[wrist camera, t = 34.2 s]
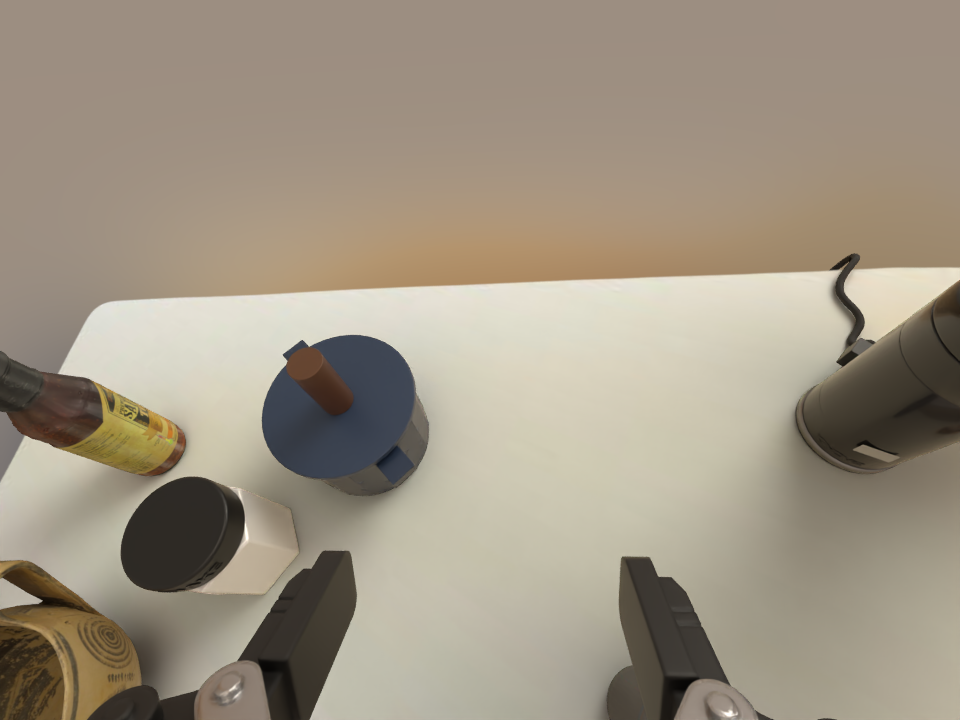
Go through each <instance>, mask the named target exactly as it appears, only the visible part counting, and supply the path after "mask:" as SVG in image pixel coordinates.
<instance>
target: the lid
mask: <svg viewBox="0 0 960 720" xmlns="http://www.w3.org/2000/svg"><path fill="white" fill-rule="evenodd" d="M415 404H416V388H415V382H414V378H413V375H412V372H411V370H410V368H409V366H408V364H407V363H406V361H405V359H404V358H403V357H402V356H401V355H400V353H399V352H398V351H396V350H395V349H394V348H393V347H391V346H390V345H388V344H387V343H385V342H383V341H380V340H378V339H375V338H372V337H368V336H361V335H345V336H338V337H333V338H330V339H326V340H323V341H321V342H318V343H316V344H314V345H312V346H310V347H307V348H302V349H299V350H298V351H296V352H295V353H293V354H292V355H291V357H290V358H289V359H288V362H287V365H286V366H285V367H284V368H283V369H282V370H281V371H280V373H279V374H278V375H277V377H276V378H275V380H274V381H273V383H272V385H271V387H270V389H269V391H268V393H267V396H266V399H265V402H264V407H263V413H262V429H263V434H264V438H265V441H266V443H267V446H268V448H269V449H270V451H271V453H272V454H273V456H274V457H275V458H276V459H277V460H278V461H279V462H280V463H281V464H282V465H283V466H285V467H286V468H288V469H289V470H291V471H293V472H294V473H296V474H299V475H301V476H304V477H307V478H312V479H318V480H334V479H341V478H346V477H349V476H352V475H355V474H358V473H360V472H363V471H365V470H367V469H369V468H370V467H372V466H374V465H375V464H377V463H378V462H380V461H381V460H382V459H383V458H385V457H386V456H387V455H388V454H389V453H390V452H391V451H392V450H393V449H394V448H395V447H396V446H397V444H398V443H399V442H400V440H401V439H402V438H403V436H404V434H405V433H406V431H407V429H408V427H409V425H410V422H411V420H412V417H413V414H414V409H415Z"/></svg>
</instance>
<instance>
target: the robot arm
mask: <svg viewBox="0 0 960 720" xmlns="http://www.w3.org/2000/svg"><path fill="white" fill-rule="evenodd" d="M859 260H860V256H859V255H858V254H851V255H849V256H847V257H845V258H844V259H842V260H841V261H840V262H838V263H837V264H836V265H835V266H833V267H832V268H831V269H830V270H829V271H835V270H839V269H840V268H842V267H843V266H844V265H846V264H847V263H848V262H849V263H848V264H847V266H846V267H845V268H844V269H843V271H842V272H841V274H840V275H839V277H838V279H837V282H836V286H835V288H836V294H837V296H838V298H839V299H840V301H841V302H842V303H843V304H844V305H845V306H846V307H847V308H848V309H849V310H850V311H851V312H852V313H853V315H854V317H855V319H856V325H855V327H854V329H853V331H852V332H851V334H850V335H849V337H848V339H847V342H848V345H849V346H850V347H848V348H847V349H846V350H845V351H844V352H843V354H842V355H841V356H840V358H839V359H838V360H837V361H836V362H837V363H838V364H840V365H842V366H843V367H842V368H841V369H839V370H838V371H837V372H835V373H834V374H832V375H831V376H830V377H828V378H827V379H825V380H824V381H823V382H821V383H820V384H818V385H816V386H814V387H813V388H811V389H810V390H809V391H807V392H806V393H805V394H804V395H803V396H802V398H801V399H800V401H799V403H798V406H797V410H796V418H797V424H798V427H799V430H800V432H801V434H802V436H803V437H804V439H805V441H806V442H807V443H808V445H809V446H810V447H811V448H812V449H813V450H814V451H815V452H816V453H817V454H818V455H819V456H821V457H822V458H823V459H825V460H826V461H828V462H829V463H831V464H833V465H835V466H837V467H839V468H842V469H844V470H847V471H851V472H855V473H863V474H871V473H878V472H882V471H884V470H887V469H890V468H892V467H894V466H896V465H898V464H900V463H902V462H905V461H908V460H911V459H914V458H917V457H919V456H922V455H925V454H927V453H930V452H933V451H935V450H938V449H941V448H943V447H946V446H949V445H952V444H954V443H957V442H960V280H959V281H958V282H956V283H955V284H954V285H952V286H951V287H950V288H948V289H947V290H946V291H944V292H943V293H942V294H940V295H939V296H937V297H936V298H935V299H933V300H932V301H931V302H929V303H928V304H927V305H925V306H924V307H923V308H921V309H920V310H919V311H917V312H916V313H915V314H913V315H912V316H911V317H909V318H908V319H907V320H905V321H904V322H903V323H901V324H900V325H899V326H897V327H896V328H895V329H893V330H892V331H891V332H889V333H888V334H887V335H885V336H884V337H882V338H881V339H880V340H878V341H877V342H874V341H872V340H864V339H863V338H860V339H859V340H857V341H856V339H857V337H858V336H859V334H860V333H861V331H862V330H863V327H864V323H865V321H864V317H863V314H862V313H861V311H860V310H859V309H858V307H857V306H856V305H855V304H854V303H853V302H852V301H851V300H850V299H849V298H848V297H847V296H846V294H845V293H844V282H845V279H846V278H847V276H848V274H849V273H850V271H851V270H852V269H853V268H854V266H855V265H856V264H857V263H858V261H859ZM356 599H357V592H356V585H355V578H354V571H353V564H352V558H351V554H350V552H349V551H323V552H322V553H321V554H320V556H319V557H318V559H317V561H316V562H315V564H314V566H313V567H312V569H303V570H302V571H301V572H299V573H298V574H297V575H296V576H295V577H294V578H292V579H291V580H290V581H289V582H288V583H287V585H286V586H285V588H284V590H283V591H282V593H281V594H280V596H279V599H278V600H276V602H275V604H274V605H273V607H272V608H271V611H270V613H268V614H267V616H266V617H265V619H264V621H263V622H262V624H261V625H260V627H259V628H258V630H257V631H256V633H255V634H254V636H253V638H252V639H251V641H250V642H249V644H248V645H247V647H246V648H245V650H244V652H243V653H242V655H241V656H240V658H239V659H238V661H237V662H234V663H231V664H229V665H226V666H225V667H223V668H221V669H219V670H218V671H216V672H215V673H214V674H213V675H211V676H210V677H209V678H208V679H207V680H206V681H205V683H204V684H203V685H202V686H201V688H200V690H197V691H194V692H190V693H186V694H183V695H179V696H175V697H171V698H168V699H164V700H160V699H159V696H158V693H157V691H156V690H155V689H154V688H153V687H150V686H144V685H143V686H136V687H132V688H129V689H126V690H124V691H122V692H120V693H118V694H116V695H114V696H113V697H111V698H110V699H108V700H107V701H106V702H104V703H103V704H102V705H101V706H99V707H98V708H97V709H96V710H95V711H94V712H93V713H92V714H91V715H90V717H89V718H88V719H87V720H309V719H310V717H311V715H312V712H313V710H314V708H315V705H316V703H317V700H318V698H319V696H320V693H321V691H322V689H323V686H324V684H325V681H326V679H327V677H328V674H329V672H330V670H331V667H332V665H333V662H334V660H335V658H336V655H337V653H338V651H339V648H340V646H341V643H342V641H343V639H344V636H345V634H346V632H347V629H348V627H349V624H350V622H351V620H352V617H353V615H354V611H355V607H356ZM619 612H620V619H621V624H622V628H623V632H624V635H625V639H626V643H627V646H628V650H629V654H630V657H631V661H632V665H633V668H634V672H635V676H636V680H637V683H638V687H639V691H640V694H641V698H642V702H643V705H644V709H645V713H646V716H647V720H773V719H770V718H768V717H766V716H764V715H762V714H760V713H759V712H757V711H756V710H754V708H753V707H752V705H751V704H750V702H749V701H748V700H747V699H746V698H745V697H744V696H743V695H742V694H741V693H740V692H738V691H737V690H736V689H734V688H733V687H731V685H730V684H729V682H728V680H727V678H726V676H725V673H724V671H723V669H722V667H721V665H720V663H719V661H718V659H717V657H716V654H715V652H714V650H713V648H712V646H711V644H710V642H709V640H708V638H707V635H706V633H705V631H704V629H703V627H701V623H700V621H699V619H698V616H697V614H696V613H695V612H694V608H693V606H692V604H691V602H690V600H689V597H688V595H687V593H686V592H685V591H684V590H683V589H682V588H681V587H680V586H679V585H678V584H677V583H676V582H675V581H674V580H673V579H672V578H671V577H658V575H657V573H656V571H655V568H654V566H653V563H652V561H651V559H650V558H649V557H622V558H621V568H620V586H619ZM818 720H835V719H828V718H823V719H818Z"/></svg>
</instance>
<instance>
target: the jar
mask: <svg viewBox="0 0 960 720" xmlns="http://www.w3.org/2000/svg"><path fill="white" fill-rule="evenodd" d="M298 554H299V547H298V542H297V537H296V533H295V528H294V523H293V519H292V514H291V510H290V508H288V507H285V506H283V505H280V504H278V503H275V502H273V501H271V500H268V499H266V498H263V497H261V496H258V495H256V494H253V493H251V492H248V491H246V490H243V489H241V488H234V487H226V486H224V485H221V484H219V483H216V482H214V481H211V480H209V479H206V478H202V477H184V478H179V479H176V480H173V481H171V482H169V483H167V484H165V485H163V486H161V487H160V488H158V489H157V490H155V491H154V492H153V493H151V494H150V495H149V496H148V497H147V498H146V499H145V500H144V501H143V502H142V503H141V504H140V505H139V507H138V508H137V509H136V511H135V512H134V514H133V515H132V517H131V519H130V520H129V522H128V524H127V527H126V529H125V532H124V535H123V539H122V544H121V561H122V565H123V569H124V571H125V573H126V575H127V576H128V578H129V579H130V580H131V581H132V582H133V583H134V584H136V585H137V586H139V587H141V588H143V589H147V590H152V591H158V592H170V593H171V592H179V591H192V592H198V593H206V594H219V595H222V594H254V595H264V594H265V593H266V592H267V591H268V590H269V589H270V588H271V586H272V585H273V584H274V583H275V582H276V580H277V579H278V578H279V577H280V575H281V574H282V573H283V572H284V571H285V569H286V568H287V567H288V566H289V565H290V563H291V562H292V561H293V560H294V558H295V557H296V556H297V555H298Z"/></svg>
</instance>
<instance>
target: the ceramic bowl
mask: <svg viewBox="0 0 960 720" xmlns="http://www.w3.org/2000/svg"><path fill="white" fill-rule="evenodd" d="M2 577H3V578H4V579H6V580H7V581H9V582H10V583H12V584H14V585H16V586H17V587H19V588H21V589H22V590H24V591H26V592H27V593H29V594H31V595H33V596H35V597H37V598H39V599H41V600H43V601H42V602H40V603H39V604H32V605H21V606H15V607H10V608H6V609H1V610H0V720H87V719H88V718H89V717H90V715H91V714H92V713H93V712H94V711H95V710H96V709H97V708H98V707H99V706H101V705H102V704H103V703H104V702H106V701H107V700H108V699H110V698H111V697H113V696H114V695H116V694H118V693H120V692H122V691H124V690H126V689H129V688H132V687H136V686H141V672H140V666H139V660H138V657H137V653H136V650H135V648H134V646H133V644H132V642H131V640H130V639H129V638H128V636H127V635H126V634H125V633H124V631H123V630H122V629H121V628H120V627H119V626H118V625H117V624H116V623H115V622H113V621H112V620H110V619H108V618H106V617H105V616H104V615H102V614H100V613H99V612H97V611H96V610H95V609H94V608H92V607H91V606H90V605H89V604H88V603H86V602H85V601H84V600H83V599H82V598H80V597H79V596H78V595H77V594H75V593H74V592H73V591H71V590H70V589H68V588H67V587H66V586H64V585H63V584H62V583H60V582H59V581H58V580H56V579H55V578H54V577H52V576H51V575H50V574H48V573H47V572H46V571H44V570H43V569H41V568H40V567H38V566H37V565H35V564H34V563H32V562H29V561H23V560H16V561H0V579H1V578H2Z"/></svg>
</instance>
